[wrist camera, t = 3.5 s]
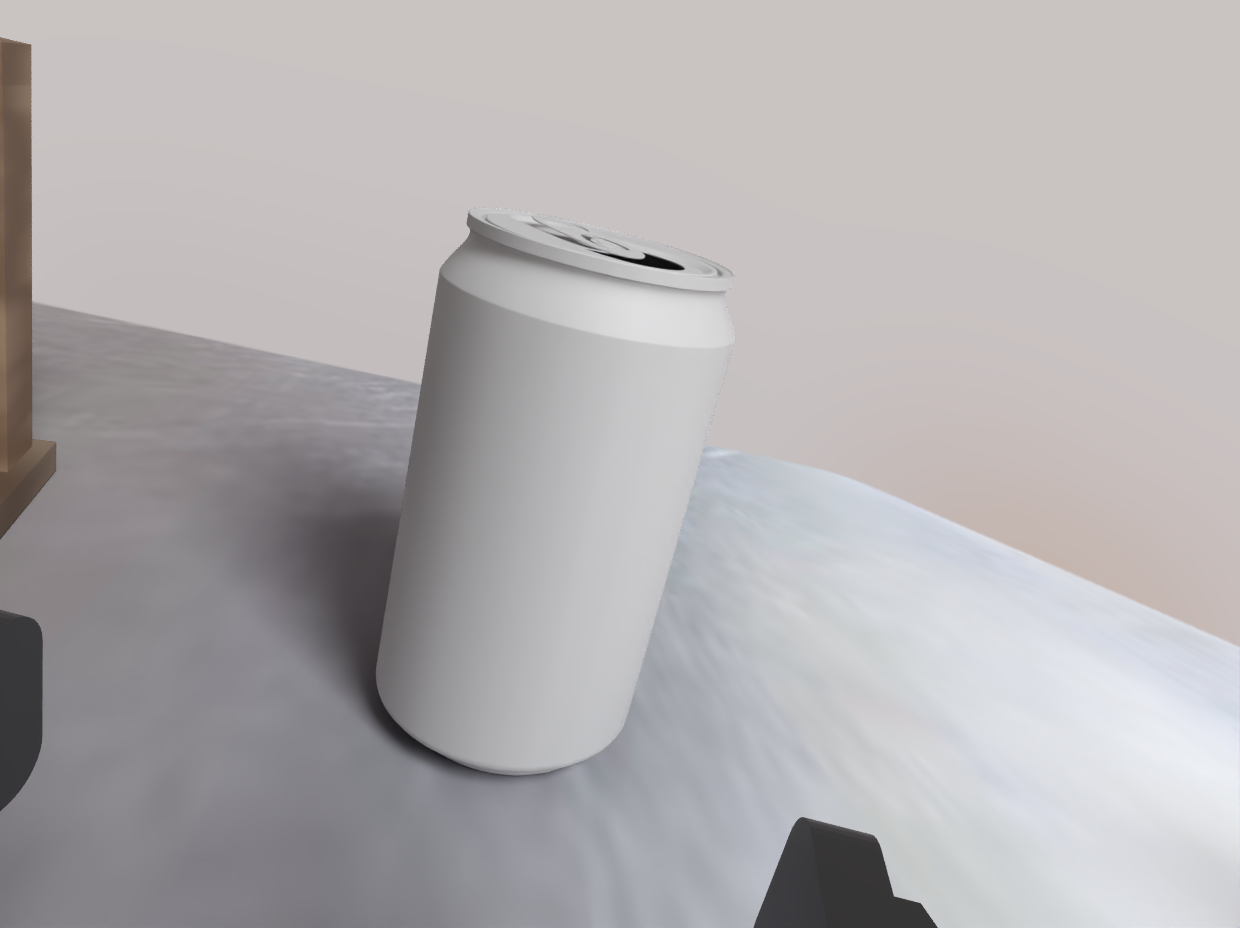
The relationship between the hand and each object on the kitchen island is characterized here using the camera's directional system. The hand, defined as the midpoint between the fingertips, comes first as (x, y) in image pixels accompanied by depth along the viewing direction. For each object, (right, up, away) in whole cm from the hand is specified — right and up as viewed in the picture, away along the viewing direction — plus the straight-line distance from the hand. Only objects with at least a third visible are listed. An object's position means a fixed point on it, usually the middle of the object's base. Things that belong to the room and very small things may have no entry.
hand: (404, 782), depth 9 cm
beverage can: (-1, -3, +13) cm, 13 cm away
